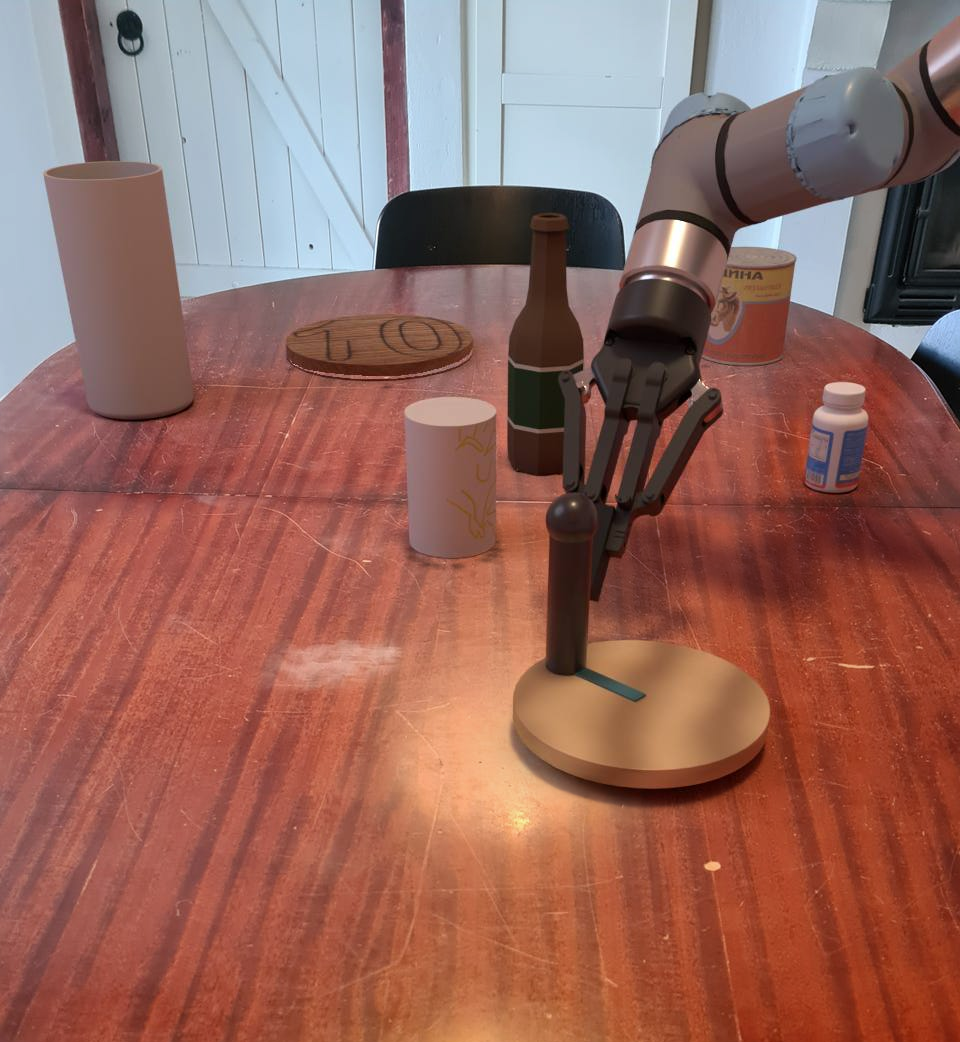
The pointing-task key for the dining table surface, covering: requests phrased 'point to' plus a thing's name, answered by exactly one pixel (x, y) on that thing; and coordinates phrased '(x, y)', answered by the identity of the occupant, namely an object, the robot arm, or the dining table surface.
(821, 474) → the pill bottle
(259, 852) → the dining table surface
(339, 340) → the trivet
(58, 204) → the cylinder vase
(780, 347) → the canned food
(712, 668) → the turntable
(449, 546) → the white cylinder
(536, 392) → the beer bottle
